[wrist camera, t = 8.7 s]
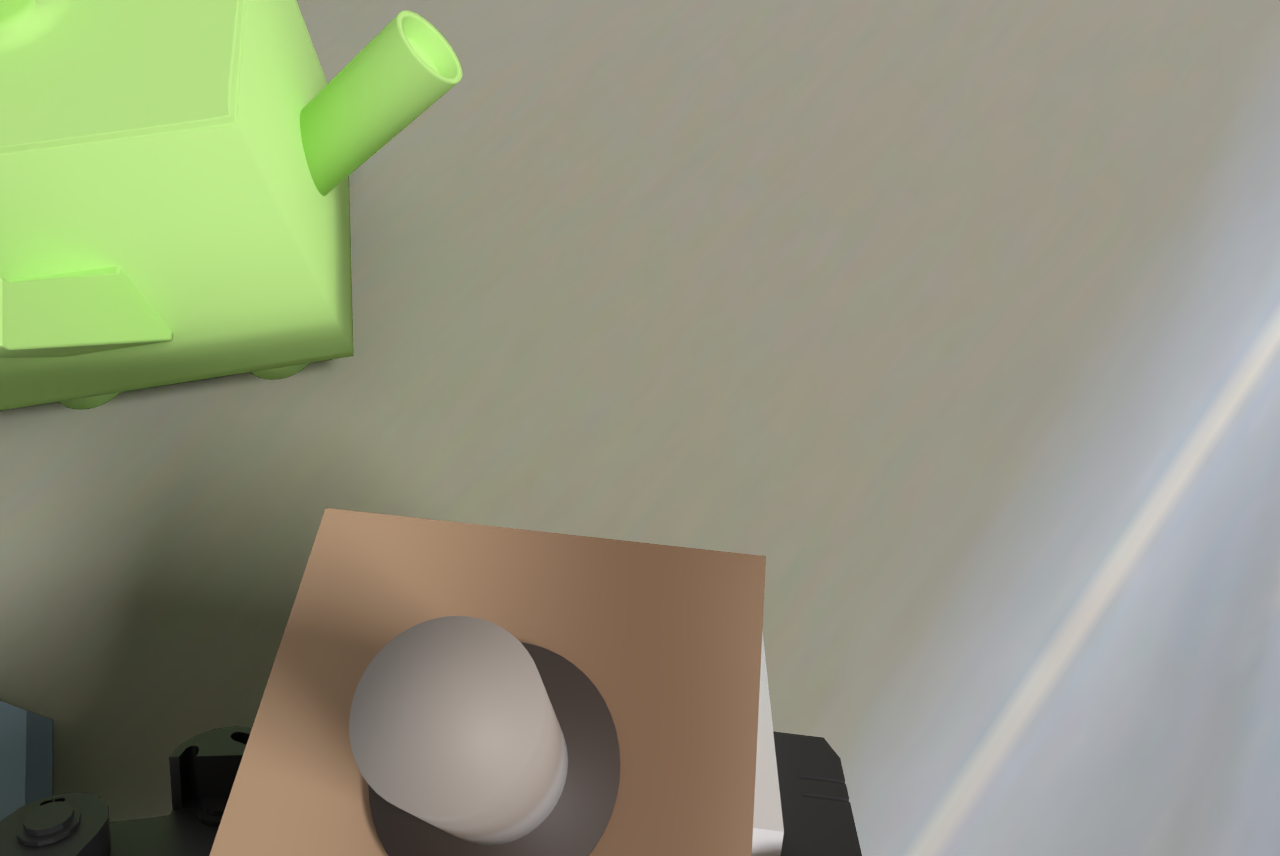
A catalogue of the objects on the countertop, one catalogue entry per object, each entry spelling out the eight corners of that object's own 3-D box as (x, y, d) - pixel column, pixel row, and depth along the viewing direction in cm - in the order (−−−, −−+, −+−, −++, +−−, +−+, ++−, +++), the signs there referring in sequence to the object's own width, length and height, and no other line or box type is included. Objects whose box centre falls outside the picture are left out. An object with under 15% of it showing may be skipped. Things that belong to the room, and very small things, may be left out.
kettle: (-159, 346, 26) (-627, 0, 17) (193, 86, 32) (1, -277, 23) (184, 597, 22) (-174, 331, 12) (514, 244, 28) (446, -117, 18)
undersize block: (438, 977, 18) (-63, 1088, 5) (488, 725, 20) (235, 387, 8) (680, 1012, 17) (783, 1220, 5) (701, 752, 20) (803, 445, 7)
